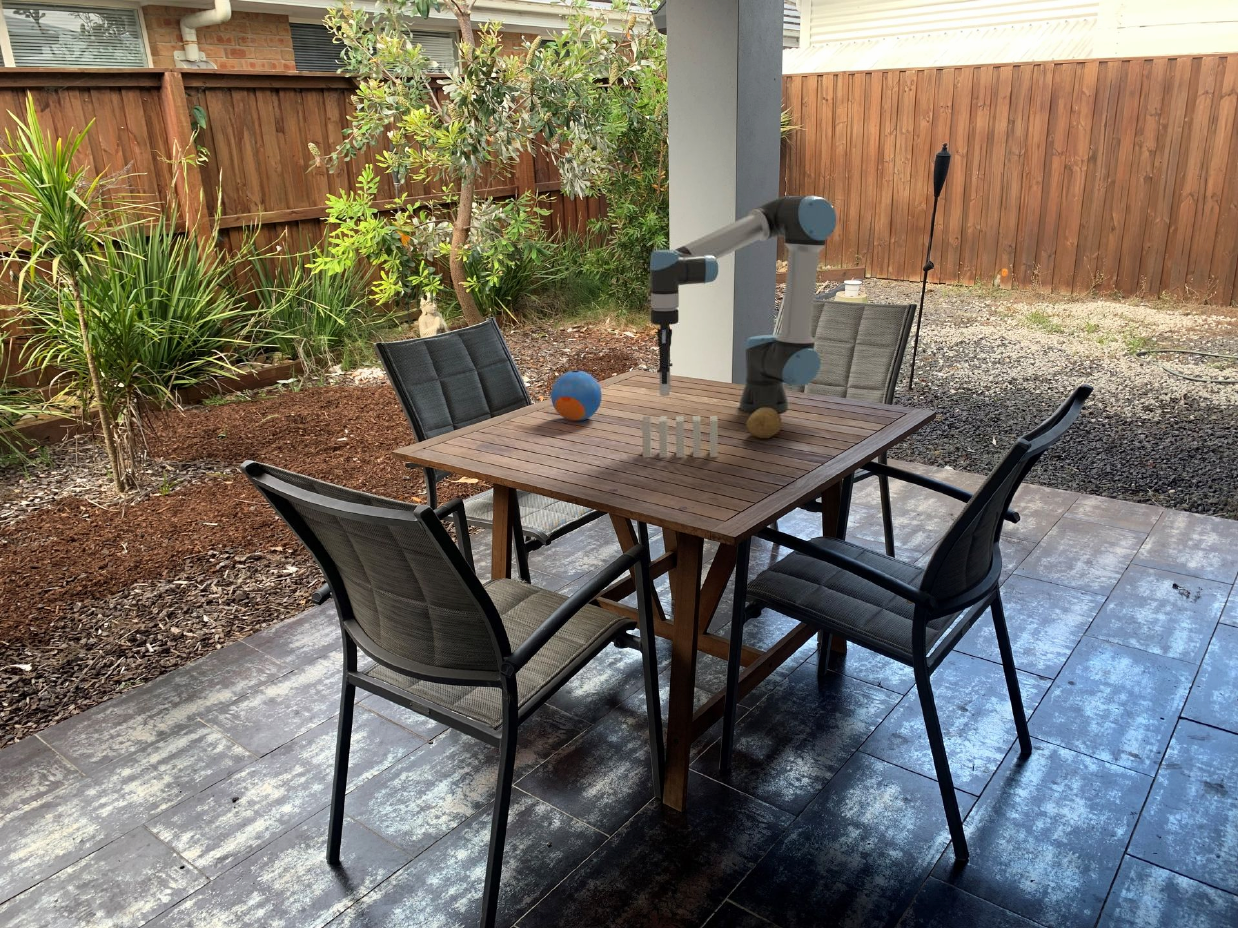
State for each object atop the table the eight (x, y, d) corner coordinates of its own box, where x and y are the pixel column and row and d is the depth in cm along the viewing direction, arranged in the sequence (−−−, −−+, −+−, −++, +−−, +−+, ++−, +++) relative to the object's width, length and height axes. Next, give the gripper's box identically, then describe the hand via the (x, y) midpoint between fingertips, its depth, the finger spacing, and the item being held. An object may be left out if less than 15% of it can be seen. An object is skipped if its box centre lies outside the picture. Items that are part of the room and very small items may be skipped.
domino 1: (651, 451, 249) (650, 416, 246) (650, 457, 245) (649, 421, 242) (644, 451, 250) (643, 416, 246) (642, 457, 245) (642, 421, 242)
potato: (782, 430, 265) (783, 403, 262) (779, 444, 252) (780, 416, 249) (749, 429, 267) (749, 402, 264) (744, 443, 254) (744, 415, 251)
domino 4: (684, 451, 249) (683, 416, 245) (683, 457, 244) (683, 421, 241) (676, 451, 249) (676, 416, 246) (676, 457, 244) (675, 421, 241)
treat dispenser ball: (544, 424, 278) (541, 375, 273) (565, 411, 292) (562, 364, 287) (590, 428, 273) (588, 378, 268) (610, 415, 286) (608, 367, 281)
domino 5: (700, 451, 248) (700, 416, 245) (700, 457, 244) (700, 421, 240) (693, 451, 248) (693, 416, 245) (693, 457, 244) (693, 421, 241)
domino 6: (717, 451, 248) (717, 416, 245) (717, 457, 243) (717, 421, 240) (709, 451, 248) (709, 416, 245) (710, 457, 243) (710, 421, 240)
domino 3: (667, 451, 249) (667, 416, 246) (667, 457, 244) (666, 421, 241) (660, 451, 249) (659, 416, 246) (659, 457, 244) (659, 421, 241)
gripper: (652, 303, 255) (653, 384, 262) (648, 314, 238) (649, 400, 245) (679, 303, 254) (679, 385, 262) (677, 313, 237) (677, 400, 245)
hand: (665, 392), depth 253 cm, fingers closed on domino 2, 5 cm apart
